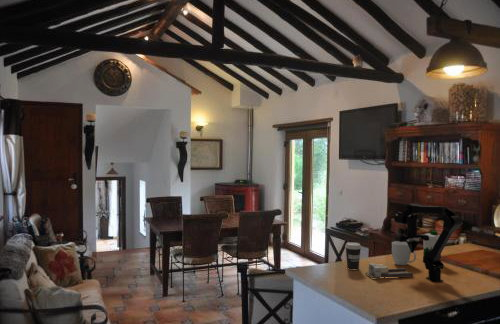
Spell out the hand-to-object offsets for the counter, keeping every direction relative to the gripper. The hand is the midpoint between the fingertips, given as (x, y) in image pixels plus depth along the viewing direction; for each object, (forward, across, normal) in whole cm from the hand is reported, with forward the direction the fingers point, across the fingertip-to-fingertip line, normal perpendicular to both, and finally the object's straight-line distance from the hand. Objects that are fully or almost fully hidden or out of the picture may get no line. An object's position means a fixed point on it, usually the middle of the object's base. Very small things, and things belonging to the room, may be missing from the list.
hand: (411, 252), depth 228 cm
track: (+12, +16, +2) cm, 20 cm away
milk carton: (+12, -24, -15) cm, 31 cm away
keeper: (+11, +20, +2) cm, 23 cm away
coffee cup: (+12, +30, -15) cm, 35 cm away
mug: (+12, -5, -16) cm, 21 cm away
